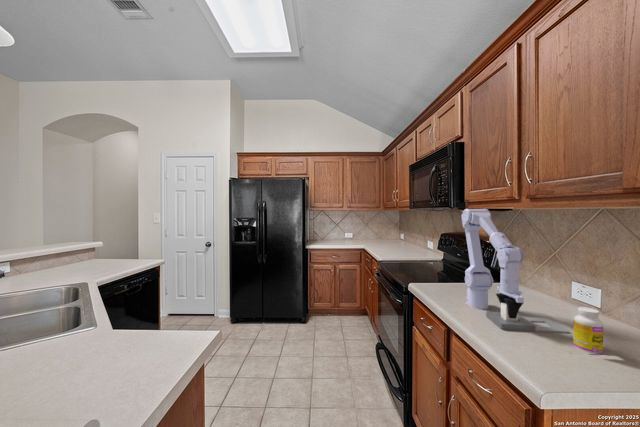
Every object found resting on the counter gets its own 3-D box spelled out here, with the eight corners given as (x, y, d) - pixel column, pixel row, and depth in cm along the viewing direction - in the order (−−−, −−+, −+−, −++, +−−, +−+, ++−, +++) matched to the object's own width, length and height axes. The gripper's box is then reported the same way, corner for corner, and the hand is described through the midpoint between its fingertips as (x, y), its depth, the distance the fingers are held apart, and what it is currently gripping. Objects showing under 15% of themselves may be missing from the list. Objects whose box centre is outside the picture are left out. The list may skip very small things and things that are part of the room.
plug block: (500, 320, 105) (500, 300, 105) (511, 321, 105) (512, 300, 105) (506, 325, 101) (506, 303, 101) (517, 325, 101) (518, 304, 101)
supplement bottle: (593, 357, 81) (593, 314, 81) (567, 347, 88) (568, 306, 87) (608, 354, 83) (609, 312, 83) (582, 344, 89) (583, 304, 89)
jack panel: (486, 318, 110) (486, 311, 110) (546, 321, 107) (546, 314, 107) (501, 332, 98) (501, 323, 98) (570, 336, 95) (570, 327, 95)
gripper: (533, 285, 95) (532, 324, 95) (510, 275, 109) (510, 309, 110) (511, 284, 96) (510, 323, 96) (491, 274, 110) (491, 308, 111)
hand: (509, 315), depth 103 cm, fingers closed on plug block, 4 cm apart
